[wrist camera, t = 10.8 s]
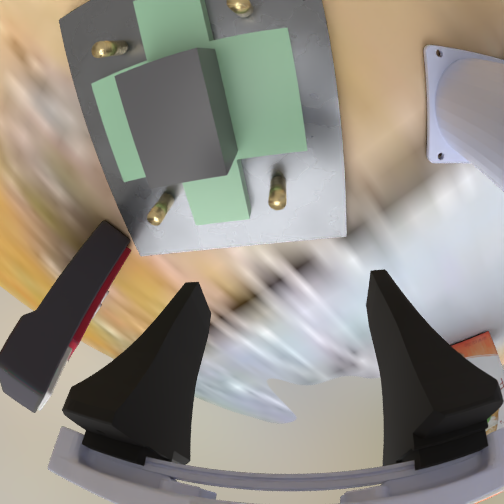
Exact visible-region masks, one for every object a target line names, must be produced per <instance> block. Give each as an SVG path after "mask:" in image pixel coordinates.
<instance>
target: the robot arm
mask: <svg viewBox="0 0 504 504" xmlns="http://www.w3.org/2000/svg"><path fill="white" fill-rule="evenodd" d="M437 50H439V52H440V56H439V57H438V56H437V55H436V51H437ZM423 52H424V61H425V73H426V89H427V158H428V160H429V161H430V162H432V163H471V164H473V165H474V166H475V167H476V168H478V169H479V170H480V171H481V172H482V173H483V174H485V175H486V176H487V177H488V178H489V179H490V180H492V181H493V182H494V183H495V184H496V185H497V186H498V187H499V188H500V189H501V190H503V191H504V60H502V59H499V58H495V57H491V56H487V55H483V54H479V53H474V52H470V51H465V50H460V49H454V48H449V47H442V46H436V45H426V46H425V47H424V51H423ZM439 153H442V155H441V157H440V158H438V154H439ZM366 307H367V314H368V322H369V328H370V332H371V336H372V340H373V344H374V349H375V353H376V357H377V361H378V366H379V371H380V377H381V384H382V395H383V414H384V449H383V466H382V467H375V468H368V469H361V470H352V471H342V472H331V473H312V474H264V473H246V472H234V471H224V470H216V469H207V468H201V467H194V466H189V465H186V464H187V463H188V462H189V461H190V438H191V420H192V410H193V401H194V394H195V386H196V381H197V376H198V372H199V369H200V365H201V361H202V357H203V353H204V350H205V346H206V342H207V338H208V334H209V326H210V318H211V312H210V310H209V307H208V305H207V302H206V300H205V297H204V295H203V292H202V289H201V287H200V284H199V282H188V283H185V284H184V285H183V286H182V288H181V289H180V290H179V291H178V293H177V294H176V295H175V296H174V298H173V299H172V300H171V301H170V303H169V304H168V305H167V306H166V307H165V309H164V310H163V311H162V312H161V313H160V315H159V316H158V317H157V318H156V319H155V321H154V322H153V323H152V324H151V325H150V326H149V327H148V328H147V329H146V331H145V332H144V333H143V334H142V335H141V336H140V337H139V338H138V339H137V340H136V341H135V342H134V343H133V344H132V345H131V346H129V347H128V348H127V349H126V350H125V351H124V352H123V353H121V354H120V355H119V356H118V357H117V358H115V359H114V360H113V361H112V362H111V363H109V364H108V365H106V366H105V367H104V368H102V369H101V370H99V371H98V372H96V373H95V374H93V375H92V376H90V377H89V378H87V379H85V380H84V381H82V382H80V383H78V384H76V385H74V386H72V387H71V389H70V392H69V394H68V397H67V399H66V402H65V404H64V407H63V409H62V411H63V413H64V415H65V416H67V417H68V418H69V419H71V420H72V421H73V422H75V423H76V424H78V425H79V426H81V427H82V428H84V429H85V430H86V432H85V435H83V434H81V433H79V432H76V431H74V430H71V429H69V428H66V427H64V426H62V427H61V429H60V433H59V435H58V438H57V441H56V444H55V446H54V449H53V453H52V455H51V458H50V462H49V465H48V470H50V471H52V472H53V473H55V474H57V475H59V476H61V477H63V478H65V479H66V480H68V481H70V482H72V483H74V484H76V485H78V486H79V487H81V488H84V489H86V490H87V491H89V492H91V493H93V494H95V495H97V496H100V497H102V498H104V499H106V500H109V501H111V502H113V503H115V504H253V503H241V502H231V501H222V500H216V493H215V492H211V491H207V490H204V489H201V488H200V487H197V486H192V485H188V484H184V483H179V482H177V481H176V480H175V479H177V480H182V481H187V482H193V483H198V484H205V485H211V486H219V487H227V488H237V489H249V490H263V491H317V490H334V489H345V488H355V487H362V486H370V485H376V484H381V485H380V486H376V487H370V488H365V489H360V490H353V491H347V492H346V493H345V494H344V495H342V496H341V497H340V504H467V503H470V502H472V501H474V500H476V499H478V498H481V497H483V496H485V495H487V494H489V493H491V492H493V491H495V490H497V489H499V488H501V487H503V486H504V427H503V428H501V429H498V430H496V431H494V432H492V433H490V434H488V435H486V431H485V429H487V428H488V422H487V419H488V418H489V417H490V416H491V415H492V414H494V413H495V412H496V411H497V410H498V409H499V408H500V407H501V406H502V404H503V402H504V400H503V396H502V393H501V389H500V386H499V383H498V381H497V379H495V378H494V377H492V376H491V375H489V374H487V373H486V372H484V371H483V370H481V369H479V368H478V367H477V366H475V365H474V364H473V363H471V362H470V361H468V360H467V359H466V358H465V357H463V356H462V355H461V354H460V353H459V352H457V351H456V350H455V349H454V348H453V347H451V346H450V345H449V344H448V343H447V342H446V341H445V340H444V339H443V338H442V337H441V336H440V335H439V334H438V333H437V332H436V331H435V330H434V329H433V328H432V327H431V326H430V325H429V324H428V323H427V322H426V321H425V319H424V318H423V317H422V316H421V315H420V314H419V313H418V311H417V310H416V309H415V308H414V306H413V305H412V304H411V303H410V301H409V300H408V299H407V298H406V296H405V295H404V294H403V293H402V291H401V290H400V289H399V287H398V286H397V285H396V283H395V282H394V281H393V279H392V278H391V276H390V275H389V274H388V272H387V271H386V270H374V271H371V273H370V281H369V289H368V296H367V303H366ZM382 483H383V484H382Z"/></svg>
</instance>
